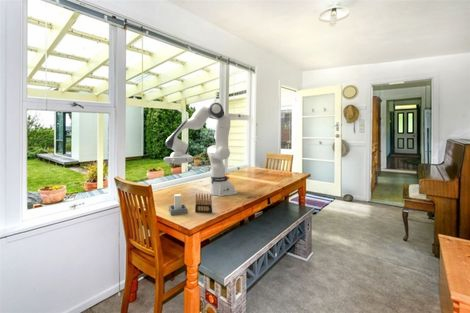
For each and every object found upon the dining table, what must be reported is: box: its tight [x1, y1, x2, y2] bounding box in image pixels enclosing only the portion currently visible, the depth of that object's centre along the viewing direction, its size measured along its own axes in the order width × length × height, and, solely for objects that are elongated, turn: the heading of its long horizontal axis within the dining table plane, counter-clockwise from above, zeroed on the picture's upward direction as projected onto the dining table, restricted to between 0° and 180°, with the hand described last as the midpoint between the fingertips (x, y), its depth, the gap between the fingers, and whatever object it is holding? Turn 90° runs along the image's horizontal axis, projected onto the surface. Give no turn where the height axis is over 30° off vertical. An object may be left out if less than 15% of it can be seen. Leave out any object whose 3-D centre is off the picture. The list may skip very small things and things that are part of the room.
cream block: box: [173, 193, 182, 210], centre depth 158 cm, size 4×4×10 cm
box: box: [168, 203, 188, 216], centre depth 158 cm, size 10×10×3 cm
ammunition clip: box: [194, 193, 213, 214], centre depth 157 cm, size 11×2×12 cm, turn 81°
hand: (180, 160), depth 175 cm, fingers open, 8 cm apart
